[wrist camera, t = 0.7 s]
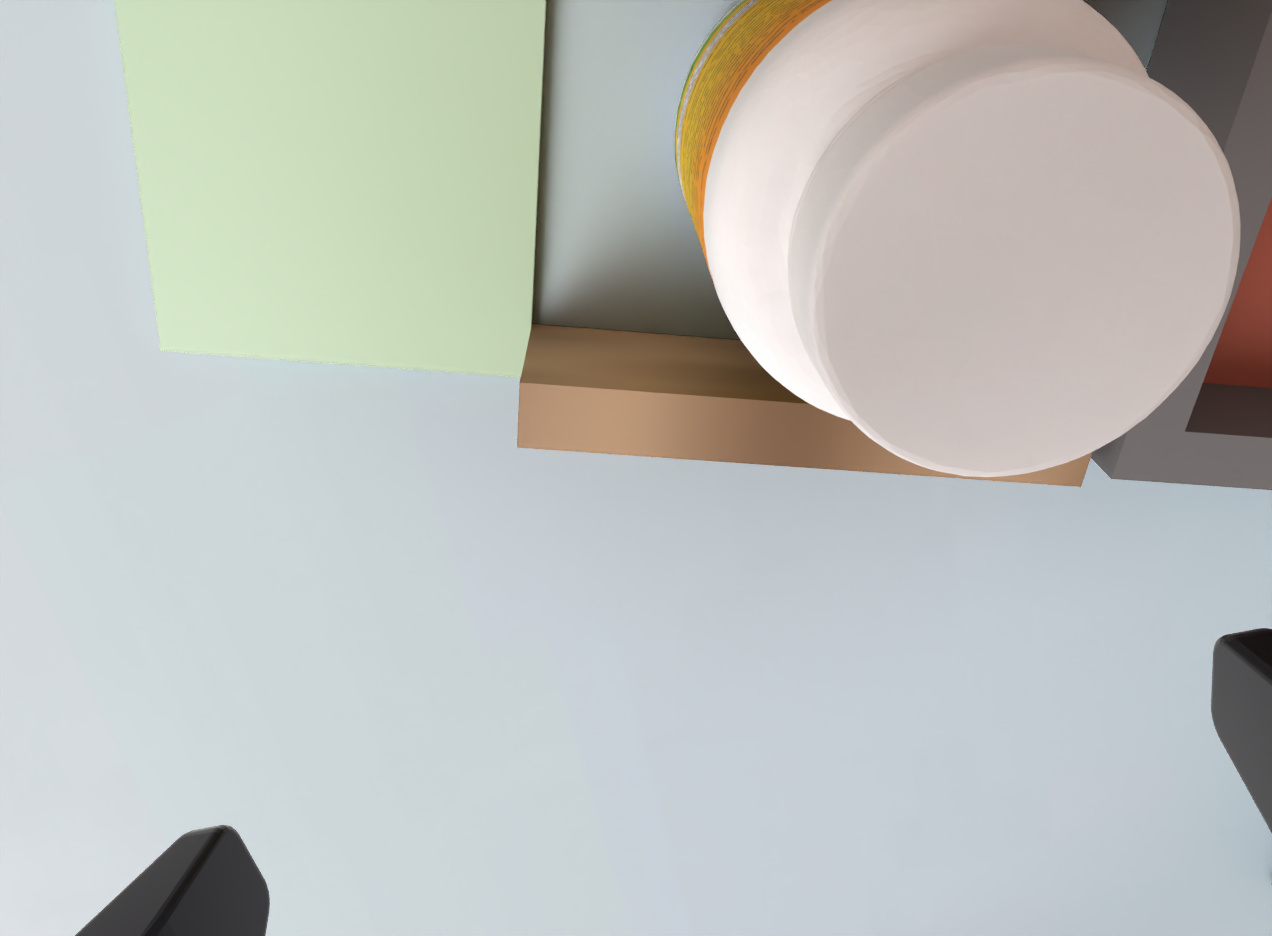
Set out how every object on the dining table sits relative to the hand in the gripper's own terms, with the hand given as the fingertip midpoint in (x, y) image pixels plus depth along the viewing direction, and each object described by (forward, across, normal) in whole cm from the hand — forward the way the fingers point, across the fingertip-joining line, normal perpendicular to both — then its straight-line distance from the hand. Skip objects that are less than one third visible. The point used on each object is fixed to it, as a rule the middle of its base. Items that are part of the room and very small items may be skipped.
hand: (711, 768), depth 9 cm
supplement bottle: (+12, -4, -3) cm, 13 cm away
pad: (+12, +4, -6) cm, 14 cm away
